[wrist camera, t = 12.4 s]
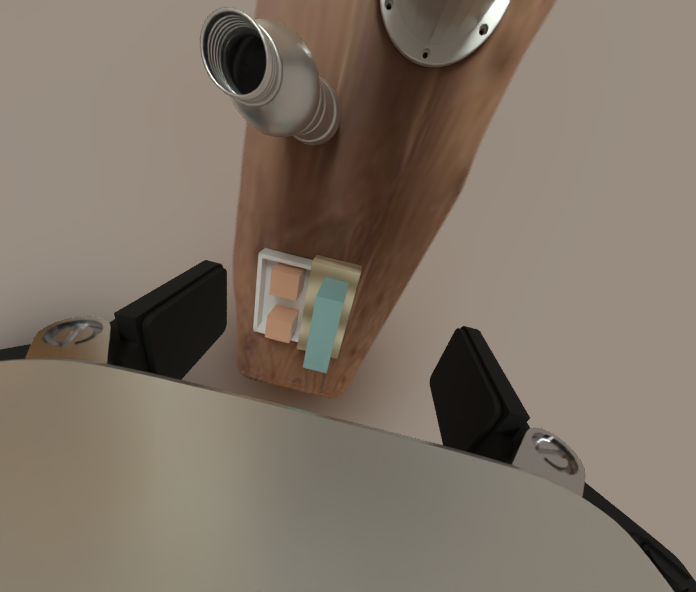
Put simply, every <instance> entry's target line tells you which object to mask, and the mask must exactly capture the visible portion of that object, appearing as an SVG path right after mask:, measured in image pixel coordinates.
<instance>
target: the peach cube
mask: <svg viewBox="0 0 696 592" xmlns="http://www.w3.org/2000/svg"><path fill="white" fill-rule="evenodd" d="M298 315H299V310H297V309H293V308H289V307H285V306H281V305H277V304H276V305H275V306H274V308H273V309H272V310H271V312H270V313H269V315H268V316H267V320H266V331H265V337H266V338H270V339H274V340H278V341H282V342H286V343H290V341H291V339H292V337H293V335H294V333H295V331H296V328H297V322H298Z"/></svg>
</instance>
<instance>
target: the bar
mask: <svg viewBox="0 0 696 592" xmlns="http://www.w3.org/2000/svg"><path fill="white" fill-rule="evenodd" d="M348 284H349V283H348V282H344V281H340V280H336V279H332V278H328V277H325V278H324V280H323V282H322V284H321V287H320V289H319V291H318V293H317V295H316V299H315V305H314V310H313V315H312V321H311V326H310V331H309V337H308V342H307V348H306V353H305V358H304V364H303V368H307V369H311V370H315V371H319V372H323V373H327V369H328V365H329V361H330V357H331V353H332V349H333V345H334V341H335V337H336V333H337V329H338V325H339V321H340V317H341V312H342V308H343V304H344V300H345V296H346V292H347V288H348Z"/></svg>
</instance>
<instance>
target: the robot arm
mask: <svg viewBox="0 0 696 592" xmlns="http://www.w3.org/2000/svg"><path fill="white" fill-rule="evenodd" d="M510 1H511V0H380V10H381V14H382V19H383V23H384V26H385V28H386V31H387V33H388V36H389V38H390V39H391V41H392V43H393V44H394V46H395V47H396V49H397V50H398V51H399V52H400V53H401V54H402V55H403V56H404V57H405V58H407V59H408V60H410V61H412V62H413V63H415V64H418V65H421V66H424V67H435V68H437V67H443V66H448V65H451V64H453V63H456V62H458V61H461V60H462V59H464V58H465V57H467V56H468V55H470V54H472V53H473V52H474V51H475V50H476V49H477V48H478V47H479V46H480V45H482V44H483V43H484V41H485V40H486V39H487V38H488V37H489V36H490V35H491V33H492V32H493V30H494V29H495V28H496V26H497V25H498V23H499V22H500V21H501V19H502V17H503V15H504V13H505V11H506V9H507V8H508V6H509V4H510ZM388 5H390V6H391V10H387V9H386V7H387V6H388ZM480 30H482V31H483V35H482V36H481V35H480V34H479V31H480ZM424 53H426V54H427V58H426V59H424V58H423V54H424ZM114 315H115V319H114V320H113V321H111V322H108V321H106V320H105V319H102V318H99V317H91V316H84V317H75V318H68V319H64V320H61V321H57V322H55V323H52V324H50V325H48V326H46V327H44V328H43V329H41V330H40V331H39V332H38V333H37V334H36V335H35V337H34V338H33V341H32V343H31V344H29V345H24V346H18V347H13V348H7V349H1V350H0V592H696V581H695V580H694V579H693V577H692V576H691V575H690V573H689V572H688V571H687V569H686V568H685V566H684V565H683V564H682V563H681V562H680V560H679V559H678V558H677V557H676V556H675V555H674V554H673V553H671V552H670V551H669V550H668V549H666V548H665V547H664V546H663V545H662V544H661V543H659V542H658V541H657V540H656V539H655V538H653V537H652V536H651V535H650V534H648V533H647V532H646V531H645V530H643V529H642V528H641V527H640V526H639V525H637V524H636V523H635V522H634V521H632V520H631V519H630V518H629V517H627V516H626V515H625V514H624V513H622V512H621V511H620V510H619V509H617V508H616V507H615V506H613V505H612V504H611V503H610V502H609V501H608V500H606V499H605V498H604V497H603V496H601V495H600V494H599V493H598V492H596V491H595V490H594V489H593V488H591V487H590V486H589V485H588V484H586V483H585V469H584V466H583V464H582V462H581V460H580V459H579V457H578V456H577V455H576V453H575V452H574V451H573V450H572V449H571V448H570V447H569V446H568V445H567V444H566V443H565V442H564V441H562V440H561V439H560V438H558V437H557V436H555V435H554V434H552V433H550V432H548V431H546V430H543V429H540V428H530V427H529V425H528V424H527V421H528V420H529V419H530V417H529V415H528V414H527V412H526V410H525V408H524V407H523V405H522V403H521V402H520V400H519V398H518V396H517V395H516V393H515V391H514V389H513V388H512V386H511V384H510V382H509V381H508V379H507V378H506V376H505V374H504V372H503V370H502V369H501V367H500V365H499V364H498V362H497V360H496V358H495V357H494V355H493V353H492V351H491V350H490V348H489V346H488V344H487V343H486V341H485V339H484V338H483V336H482V334H481V332H480V331H479V330H477V329H473V328H469V327H465V326H463V327H461V328H460V329H459V328H458V329H456V330H455V332H454V334H453V336H452V337H451V340H450V341H449V343H448V345H447V347H446V349H445V351H444V353H443V354H442V356H441V358H440V360H439V362H438V364H437V366H436V368H435V369H434V371H433V373H432V375H431V378H430V388H431V392H432V397H433V401H434V405H435V410H436V415H437V419H438V424H439V428H440V433H441V437H442V442H443V445H439V444H436V443H432V442H428V441H424V440H420V439H416V438H412V437H408V436H405V435H401V434H397V433H393V432H388V431H385V430H381V429H377V428H373V427H369V426H365V425H362V424H357V423H354V422H349V421H345V420H342V419H338V418H334V417H330V416H325V415H322V414H318V413H314V412H310V411H306V410H301V409H298V408H294V407H289V406H285V405H281V404H277V403H273V402H269V401H265V400H261V399H257V398H253V397H249V396H245V395H241V394H237V393H232V392H228V391H224V390H220V389H216V388H212V387H208V386H204V385H199V384H196V383H191V382H187V381H183V380H181V379H182V378H183V377H184V376H185V374H187V373H188V371H189V370H190V369H191V368H192V367H193V366H194V365H195V364H196V362H197V361H198V360H199V359H200V358H201V357H202V356H203V355H204V354H205V352H206V351H207V350H208V349H209V348H210V347H211V346H212V345H213V344H214V342H215V341H216V340H217V339H218V338H219V337H220V336H221V335H222V334H223V332H224V331H225V328H226V324H227V319H226V318H227V271H226V269H224V268H223V266H222V265H221V264H219V263H215V262H211V261H208V260H205V261H203V262H201V263H199V264H198V265H196V266H194V267H192V268H191V269H189V270H187V271H186V272H184V273H182V274H180V275H179V276H177V277H175V278H174V279H172V280H170V281H168V282H167V283H165V284H163V285H162V286H160V287H158V288H157V289H155V290H153V291H151V292H150V293H148V294H146V295H144V296H143V297H141V298H139V299H138V300H136V301H134V302H132V303H131V304H129V305H127V306H126V307H124V308H122V309H120V310H119V311H117V312H115V313H114Z"/></svg>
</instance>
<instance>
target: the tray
mask: <svg viewBox="0 0 696 592" xmlns="http://www.w3.org/2000/svg"><path fill="white" fill-rule="evenodd" d="M312 261H313V260H311V259H307V258H303V257H299V256H296V255H292V254H288V253H284V252H280V251H276V250H272V249H268V248H264V249H263V250H262V251H260V252H259V254H258V268H257V283H256V297H255V311H254V326H253V331H256V332H260V333H264V334H265V331H266V320H267V316H268V315H269V313H270V312H271V310H272V309H273V308H274V306H275V305H276V304H277V305H281V306H285V307H289V308H293V309H297V310H299V315H298V322H297V328H296V331H295V333H294V335H293V337H292V339H291V340H292V341H296V342H298V339H299V333H300V327H301V322H302V316H303V310H304V305H305V299H306V293H307V287H308V282H309V276H310V270H311V265H312ZM278 262H281V263H285V264H288V265H292V266H296V267H300V268H304V269H306V274H305V280H304V287H303V290H302V292H301V294H300V295H299V297H298V299H297V300H296V301H294V300H290V299H286V298H282V297H278V296H274V295H269V293H270V281H271V269H272V268H273V267H274V266H275V265H276V264H277V263H278Z"/></svg>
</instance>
